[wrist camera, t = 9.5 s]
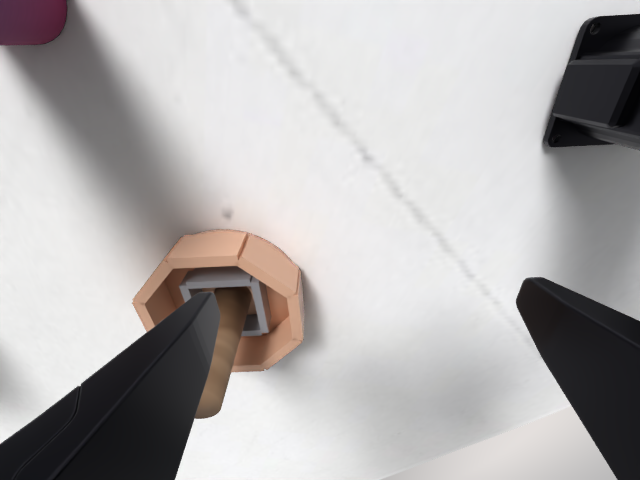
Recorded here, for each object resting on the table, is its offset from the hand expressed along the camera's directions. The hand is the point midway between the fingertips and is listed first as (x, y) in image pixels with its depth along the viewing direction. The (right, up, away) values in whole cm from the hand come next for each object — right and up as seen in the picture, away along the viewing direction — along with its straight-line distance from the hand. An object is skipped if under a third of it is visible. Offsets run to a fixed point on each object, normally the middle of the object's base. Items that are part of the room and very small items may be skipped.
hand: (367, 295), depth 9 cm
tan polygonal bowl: (-9, -3, +16) cm, 18 cm away
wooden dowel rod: (-8, -3, +15) cm, 18 cm away
